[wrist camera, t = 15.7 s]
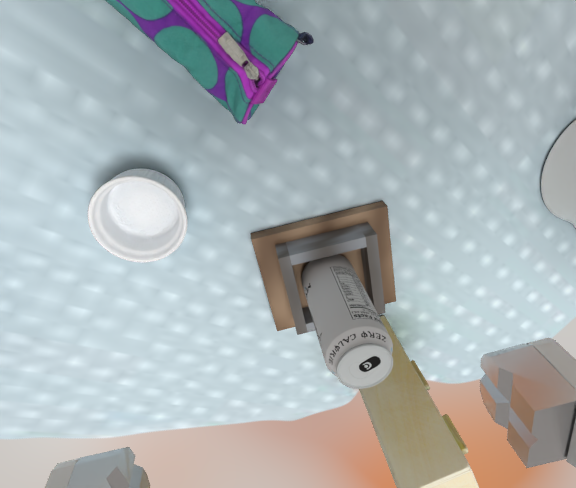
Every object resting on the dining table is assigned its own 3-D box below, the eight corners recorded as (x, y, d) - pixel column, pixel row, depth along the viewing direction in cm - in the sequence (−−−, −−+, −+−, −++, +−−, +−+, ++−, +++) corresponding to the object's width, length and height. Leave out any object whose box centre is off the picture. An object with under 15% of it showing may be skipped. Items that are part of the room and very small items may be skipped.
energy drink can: (289, 268, 46) (315, 365, 33) (334, 239, 45) (380, 327, 32) (317, 302, 49) (351, 404, 36) (360, 275, 48) (412, 370, 35)
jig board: (382, 200, 45) (397, 217, 41) (391, 294, 52) (405, 316, 48) (250, 233, 45) (253, 253, 41) (276, 323, 51) (280, 347, 47)
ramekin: (208, 200, 43) (206, 217, 39) (156, 257, 45) (149, 278, 41) (134, 143, 39) (124, 156, 35) (82, 208, 41) (67, 227, 37)
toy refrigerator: (407, 350, 57) (495, 506, 38) (359, 372, 57) (422, 535, 39) (389, 310, 53) (477, 462, 34) (338, 334, 53) (397, 495, 35)
